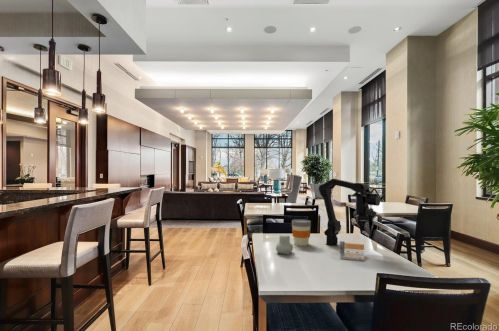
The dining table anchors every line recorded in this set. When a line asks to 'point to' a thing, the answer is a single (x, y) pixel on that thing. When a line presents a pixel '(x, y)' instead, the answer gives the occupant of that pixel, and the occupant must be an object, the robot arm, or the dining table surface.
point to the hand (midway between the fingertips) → (360, 229)
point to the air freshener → (284, 245)
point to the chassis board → (352, 254)
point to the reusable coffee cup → (301, 231)
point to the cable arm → (351, 246)
